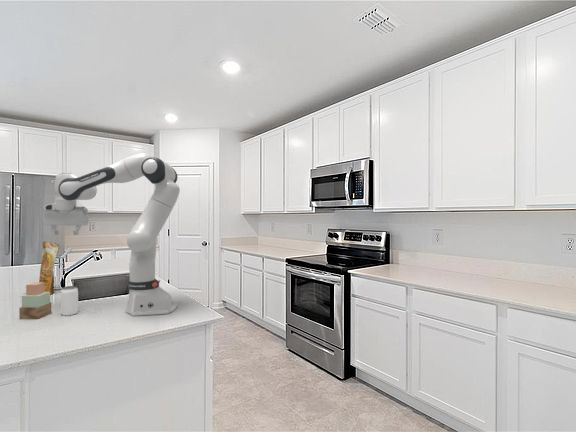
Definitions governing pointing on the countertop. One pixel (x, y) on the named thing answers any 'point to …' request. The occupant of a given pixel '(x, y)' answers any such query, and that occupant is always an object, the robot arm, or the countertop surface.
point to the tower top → (35, 300)
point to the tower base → (34, 312)
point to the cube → (34, 288)
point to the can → (69, 300)
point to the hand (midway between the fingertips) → (66, 234)
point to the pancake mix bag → (48, 265)
